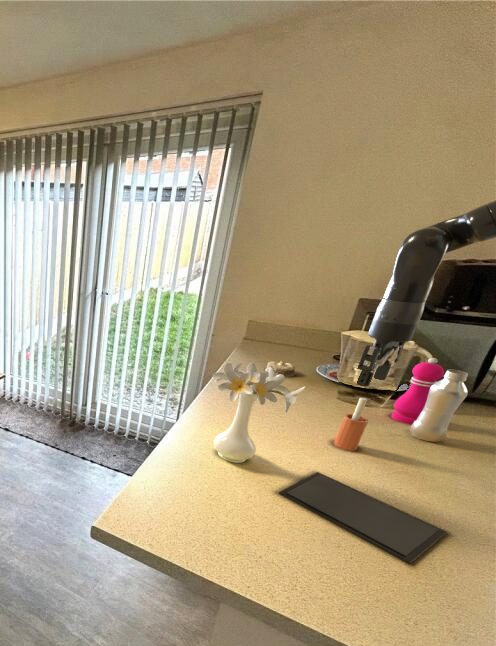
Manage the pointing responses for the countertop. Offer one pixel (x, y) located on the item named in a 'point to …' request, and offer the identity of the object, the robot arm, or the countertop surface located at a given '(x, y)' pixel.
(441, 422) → the plastic bottle
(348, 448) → the pen cup
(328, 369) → the ceramic plate
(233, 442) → the flower vase
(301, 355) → the countertop surface
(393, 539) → the tablet
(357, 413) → the stylus
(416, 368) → the pepper mill
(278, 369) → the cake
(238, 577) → the countertop surface
